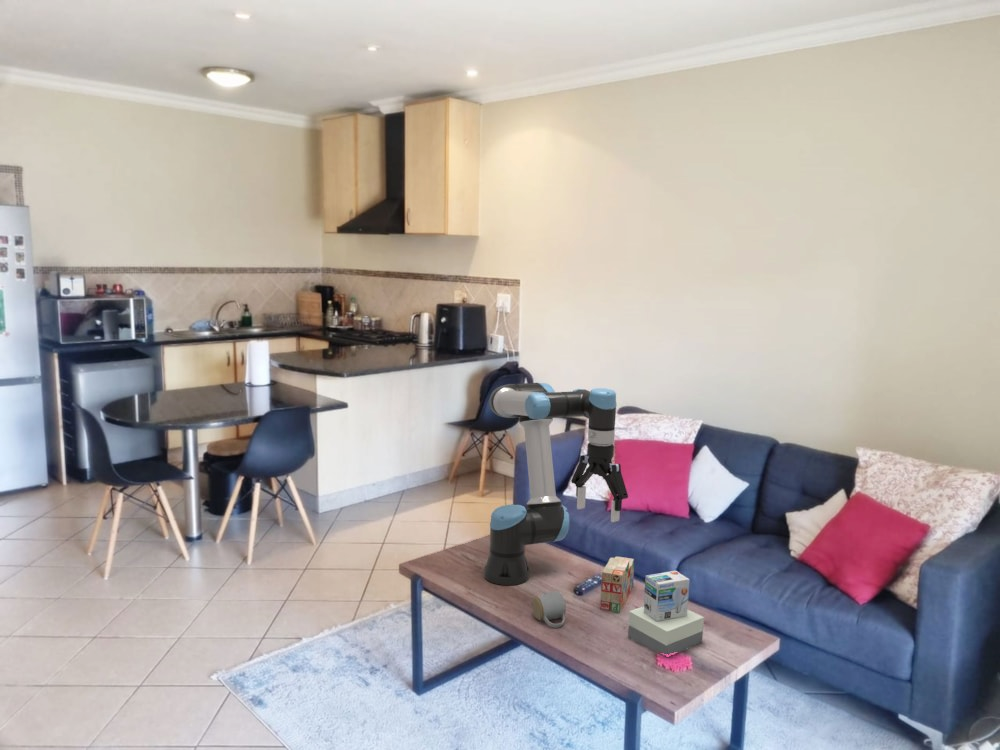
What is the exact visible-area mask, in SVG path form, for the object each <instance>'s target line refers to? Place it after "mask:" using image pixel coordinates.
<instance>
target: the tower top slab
mask: <svg viewBox="0 0 1000 750" xmlns="http://www.w3.org/2000/svg"><path fill="white" fill-rule="evenodd" d="M704 622H705V617H704V616H703V615H701V614H698V613H696V612H694V611H693V610H690V609H688V611H687V616H683V617H677V618H672V619H666V620H660V621H656V620H654V619H653V618H652V617H650V616H649V615H648V614H647V613H645V612H644V605H643V606H640V607H638V608H635V609H632V610H629V611H628V626H629V625H630V626H632V627H634V628H635V629H637V630H639V631H641V632H643V633H644V634H646V635H648V636H650V637H652V638H653V639H655V640H657V641H659V642H661V643H662V644H664V645H666V646H667V645H669V644H672V643H674V642H677V641H679V640H682V639H684V638H687V637H689V636H692V635H694V634H697V633H699V632H701V631H703V632H704V627H705V626H704Z"/></svg>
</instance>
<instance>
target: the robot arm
mask: <svg viewBox="0 0 1000 750" xmlns="http://www.w3.org/2000/svg"><path fill="white" fill-rule="evenodd" d="M489 407H490V409H491V411H492V412H493V413H494V414H495V415H497V416H498V417H502V418H507V419H517V418H518V424H519V425H520V426H522V427H523V429H524V430H523V431H524V439H525V451H526V460H527V473H528V483H529V493H530V498H529V500H528V502H526V507H525V506H523V505H522V504H505V505H502V506H499V507H497V508H495V509H494V510H493V511H492V512H491V515H490V523H489V529H490V531H489V533H490V536H489V537H490V538H489V539H490V540H489V555H488V558H487V561H486V564H485V565H484V569H483V576H484V579H485V578H486V579H485V580H487V581H488V582H490V583H492V584H495V585H499V584H500V585H501V586H515V585H520V584H521V585H522V584H524V583H526V582H527V581H528V580H529V579H530V567H529V564H528V561H527V558H526V546H528V545H536V544H537V545H538V544H544V543H545V544H546V543H547V544H548V543H554V542H559V541H562V540H563V539H565V538H566V536H567V535H568V532H569V530H570V521H571V520H570V514H569V512H568V508H567V506H564V505H563V504H562V500H561V499H560V498H559V497H558V496H557V494H556V484H555V473H554V462H553V461H554V460H553V453H552V443H551V442H552V441H551V434H550V425H551V424H552V422H553V421H554V420H553V419H558V418H561V419H562V418H578V417H583V418H586V419H588V426H587V427H588V428H587V441H588V443H587V447H586V448H587V449H586V450H587V452H586V454H582V455H580V456H579V463H578V464H577V467H576V469H575V471H574V473H573V476H572V477H571V481H570V483H572V484H574V486H575V487H576V489H575V490H576V491H575V492H576V493H575V495H576V497H577V498H576V500H577V501H576V509H577V510H583V509H586V498H587V497H586V496H587V495H586V493H587V486H586V483H588V481H589V479H590V478H591V477H592V476H594V475H597V476H599V477H602V479H603V480H604V481H605V483H606V485H607V487H608V489H609V490H610V493H611V496H613V497H612V498H613V499H611V509H610V522H611V523H615V522H619V521H620V512H621V511H622V509H623V508H622V505H623V503H622V502H623V500H625V499H629V494H628V491H627V487H626V484H625V482H624V477H623V475H622V470H621V468H622V466H621V465H622V464H621V463H613V462H612V459H613V457H614V452H615V451H614V450H615V445H614V443H615V436H616V435H615V431H616V430H615V429H616V416H617V415H616V414H617V393H616V391H615V390H613V389H610V388H609V389H608V388H592V389H591V390H587V389H585V388H583V389H582V388H576V389H573V390H572V391H558V392H557V391H555V389H554V388H553V387H552V386H551V385H550V384H549V383H545V382H529V383H528V382H527V383H508V384H504V385H500V386H499V387H496V388H495V389H494V390H492V393H491V395H490V397H489ZM587 466H588V467H587Z"/></svg>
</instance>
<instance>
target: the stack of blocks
mask: <svg viewBox="0 0 1000 750" xmlns="http://www.w3.org/2000/svg"><path fill="white" fill-rule="evenodd" d="M634 563H635V558H629V557H624V556H623V557H622V556H615V557H610V558H609V559H608V562H607V563H606V565H605V566H604V568H603V569H602V572H601V585H600V587H601V589H600V590H601V591H600V592H601V593H600V594H601V595H600V609H599V610H603V611H609V612H613V613H619V614H620V613H621V612H622V609H624V606H625V605H626V602H627V600H628V597H629V594H630V593H631V591H632V589H633V586H634V577H635V575H634V572H635V567H634V566H635V564H634Z"/></svg>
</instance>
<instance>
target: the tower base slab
mask: <svg viewBox="0 0 1000 750" xmlns="http://www.w3.org/2000/svg"><path fill="white" fill-rule="evenodd" d="M627 631H628V635H627V637H628V639H630V640H632V641H634V642H637V643H638V644H640V645H642V646H643V647H646V648H648V649H649V650H651V651H653V652H655V653H657V652H659V653H664V654H668V655H669V654H670V653H674V652H680V653H682V652H684V651H686V650H688V649H690V648H692V647H694V646H697V645H699V644H700V642H701V643H702V642H703V637H704V634H703V633H704V630H703V631H701V632H699V633H697V634H694V635H692V636H689V637H687V638H684V639H682V640H679V641H677V642H674V643H672V644H669V645H667V646H666V645H664V644H662V643H661V642H659V641H657V640H655V639H653V638H652V637H650V636H648V635H646V634H644V633H643V632H641V631H639V630H637V629H635V628H634V627H632V626H630V625H628V630H627ZM693 645H694V646H693ZM691 646H692V647H691ZM689 647H690V648H689ZM687 648H688V649H687ZM681 651H682V652H681ZM659 653H658V654H659Z"/></svg>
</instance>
